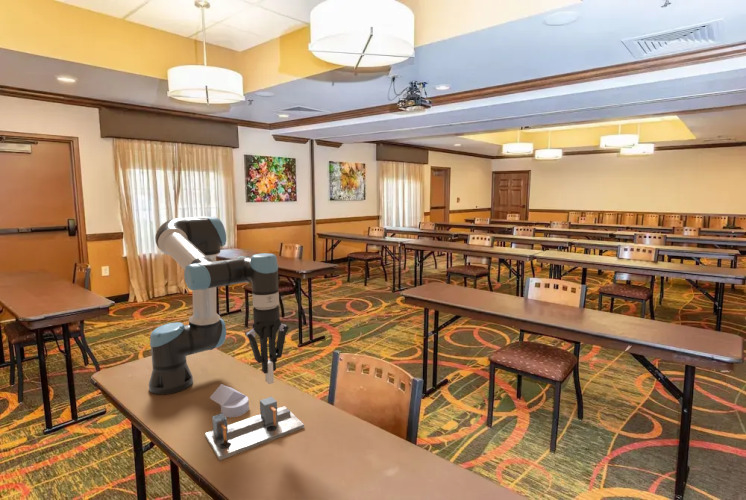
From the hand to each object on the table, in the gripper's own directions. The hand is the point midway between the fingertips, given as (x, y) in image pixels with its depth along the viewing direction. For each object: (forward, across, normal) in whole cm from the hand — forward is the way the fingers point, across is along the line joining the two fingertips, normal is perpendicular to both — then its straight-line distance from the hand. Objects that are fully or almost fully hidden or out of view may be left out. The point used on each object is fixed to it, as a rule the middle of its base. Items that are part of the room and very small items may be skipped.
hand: (269, 381), depth 125 cm
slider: (+15, +1, +3) cm, 15 cm away
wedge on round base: (+17, -5, +22) cm, 28 cm away
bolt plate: (+16, -4, +3) cm, 17 cm away
